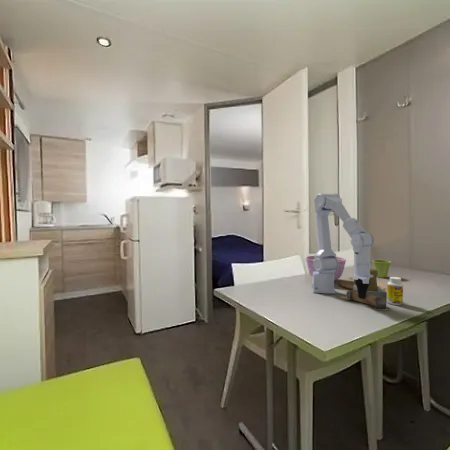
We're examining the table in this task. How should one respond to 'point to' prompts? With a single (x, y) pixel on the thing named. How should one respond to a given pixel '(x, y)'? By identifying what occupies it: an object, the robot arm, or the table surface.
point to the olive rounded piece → (373, 280)
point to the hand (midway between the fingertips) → (361, 298)
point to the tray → (375, 292)
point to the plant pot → (381, 267)
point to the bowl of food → (336, 274)
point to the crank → (367, 299)
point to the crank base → (381, 309)
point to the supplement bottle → (395, 291)
